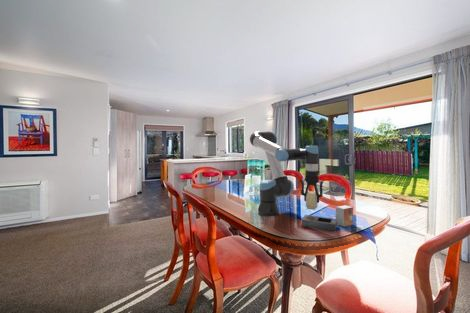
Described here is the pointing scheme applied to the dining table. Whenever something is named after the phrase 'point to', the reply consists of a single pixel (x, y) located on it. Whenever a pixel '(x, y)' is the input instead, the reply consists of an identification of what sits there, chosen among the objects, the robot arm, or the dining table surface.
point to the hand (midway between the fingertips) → (311, 206)
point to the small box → (344, 215)
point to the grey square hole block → (319, 223)
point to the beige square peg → (311, 200)
